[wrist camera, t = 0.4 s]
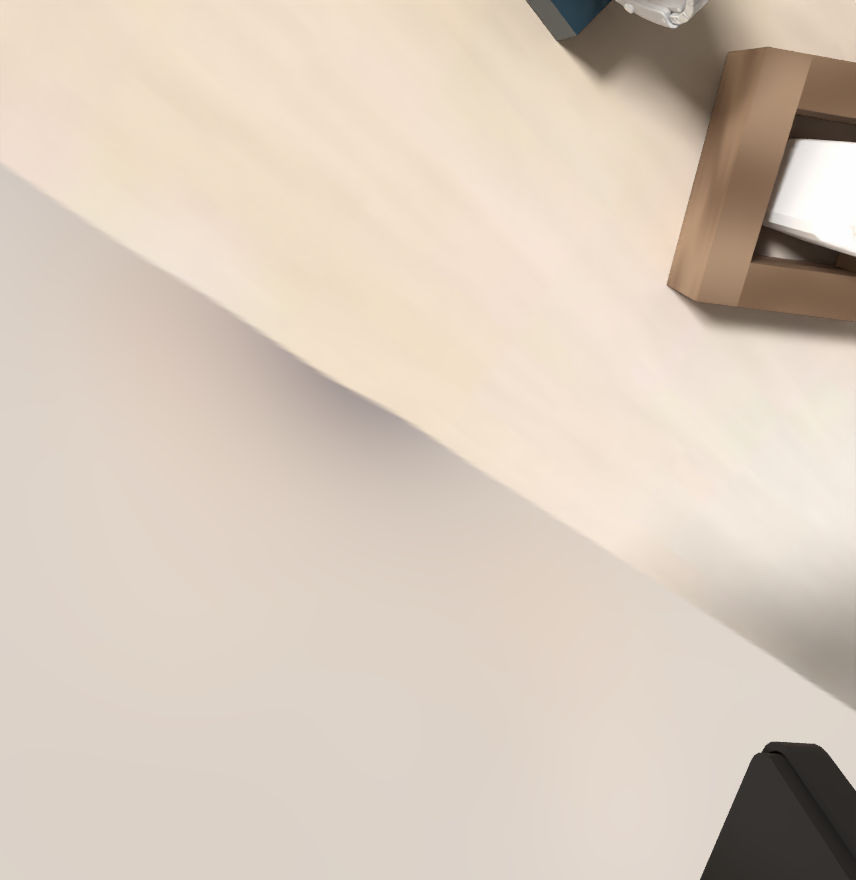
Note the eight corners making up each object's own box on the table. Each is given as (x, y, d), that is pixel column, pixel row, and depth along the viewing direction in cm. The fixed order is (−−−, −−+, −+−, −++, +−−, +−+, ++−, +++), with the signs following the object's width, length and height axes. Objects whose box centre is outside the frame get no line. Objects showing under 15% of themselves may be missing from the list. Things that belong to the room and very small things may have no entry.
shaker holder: (728, 52, 34) (767, 46, 31) (937, 89, 35) (995, 87, 32) (666, 284, 38) (696, 301, 35) (856, 309, 39) (901, 327, 36)
